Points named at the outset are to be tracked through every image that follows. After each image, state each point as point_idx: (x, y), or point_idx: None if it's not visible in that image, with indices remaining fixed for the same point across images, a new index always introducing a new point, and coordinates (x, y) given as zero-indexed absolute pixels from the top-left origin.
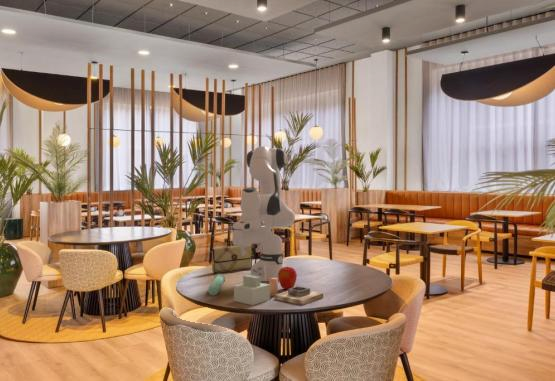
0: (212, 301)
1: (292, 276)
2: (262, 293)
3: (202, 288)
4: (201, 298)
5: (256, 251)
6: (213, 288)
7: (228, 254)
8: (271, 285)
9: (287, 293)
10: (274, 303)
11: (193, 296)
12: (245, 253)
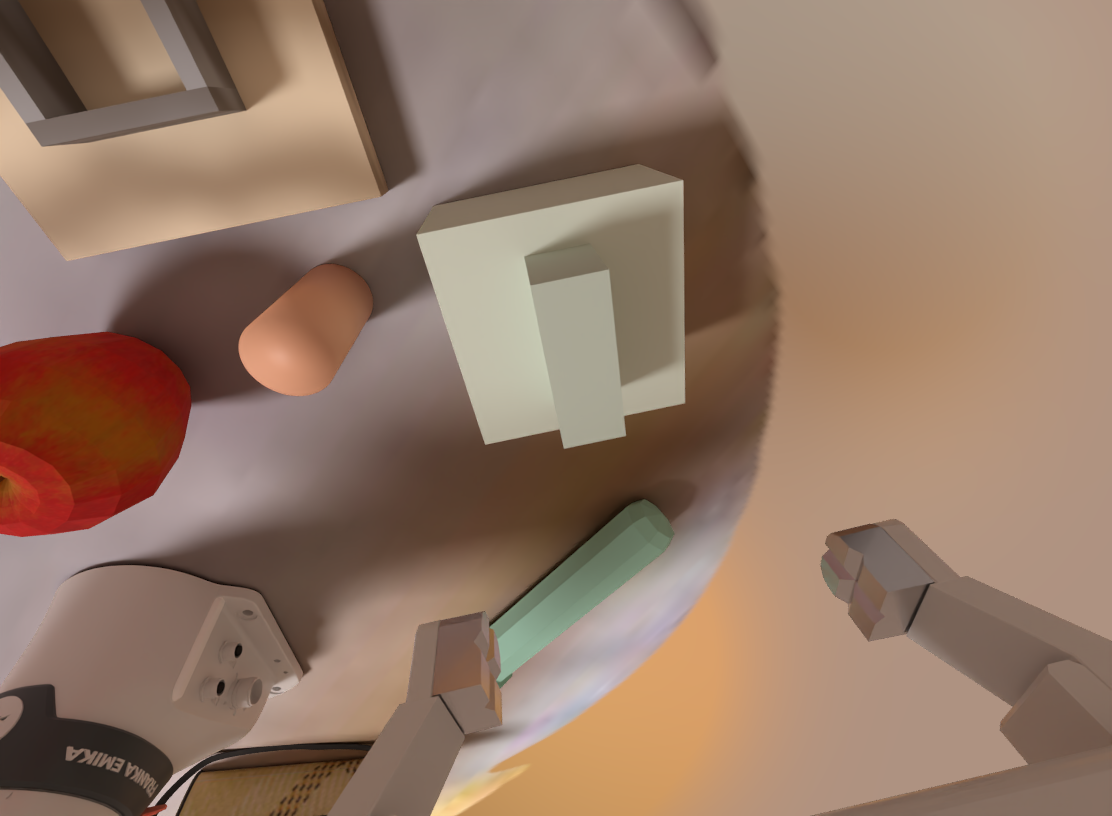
0: (735, 413)
1: (4, 357)
2: (526, 199)
3: (598, 611)
4: (725, 487)
5: (494, 649)
6: (660, 528)
7: None
8: (343, 317)
9: (237, 150)
10: (465, 67)
11: (722, 531)
12: (886, 548)
